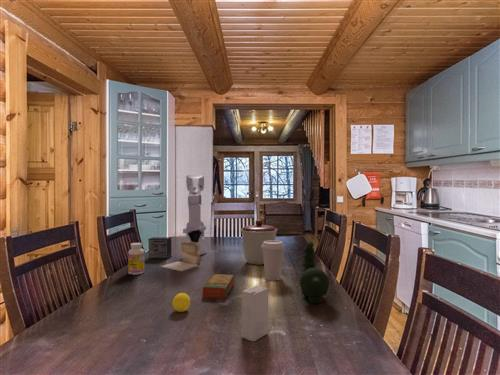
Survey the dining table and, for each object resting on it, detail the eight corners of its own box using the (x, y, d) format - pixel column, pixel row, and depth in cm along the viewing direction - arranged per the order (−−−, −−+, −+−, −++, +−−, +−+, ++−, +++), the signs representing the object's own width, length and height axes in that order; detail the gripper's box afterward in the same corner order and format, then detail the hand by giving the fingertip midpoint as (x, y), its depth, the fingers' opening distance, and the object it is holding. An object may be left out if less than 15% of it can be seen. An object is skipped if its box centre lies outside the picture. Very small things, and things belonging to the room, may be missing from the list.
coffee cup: (287, 276, 139) (287, 241, 138) (280, 283, 130) (280, 244, 130) (266, 274, 143) (266, 239, 142) (257, 280, 134) (257, 243, 134)
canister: (234, 265, 158) (234, 221, 158) (248, 257, 175) (248, 217, 175) (270, 268, 152) (270, 222, 151) (282, 260, 168) (282, 218, 168)
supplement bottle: (124, 273, 143) (124, 244, 143) (136, 270, 149) (136, 241, 149) (136, 275, 140) (135, 245, 140) (147, 272, 146) (147, 243, 146)
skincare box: (255, 329, 89) (255, 284, 89) (269, 334, 86) (269, 287, 86) (240, 337, 85) (240, 290, 84) (254, 343, 82) (254, 294, 81)
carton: (234, 285, 128) (234, 274, 128) (226, 300, 113) (226, 287, 112) (212, 284, 130) (213, 273, 129) (202, 299, 114) (202, 286, 114)
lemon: (190, 315, 100) (189, 299, 99) (171, 316, 99) (171, 299, 98) (191, 304, 107) (190, 288, 106) (173, 305, 106) (173, 289, 105)
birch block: (188, 260, 166) (187, 241, 165) (200, 262, 162) (199, 242, 161) (182, 263, 163) (181, 243, 162) (194, 265, 158) (193, 244, 157)
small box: (172, 256, 177) (172, 236, 177) (167, 259, 170) (167, 239, 170) (153, 256, 178) (152, 236, 178) (148, 259, 172) (147, 238, 171)
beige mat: (178, 262, 164) (178, 261, 164) (198, 266, 157) (198, 264, 157) (160, 267, 154) (160, 266, 154) (181, 271, 147) (181, 270, 147)
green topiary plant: (296, 290, 127) (302, 309, 102) (296, 240, 128) (301, 246, 103) (321, 290, 126) (333, 309, 101) (320, 240, 128) (332, 247, 103)
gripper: (190, 220, 156) (190, 249, 156) (210, 217, 168) (210, 244, 168) (179, 219, 159) (179, 247, 160) (199, 217, 172) (200, 243, 172)
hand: (194, 246), depth 164 cm, fingers closed
